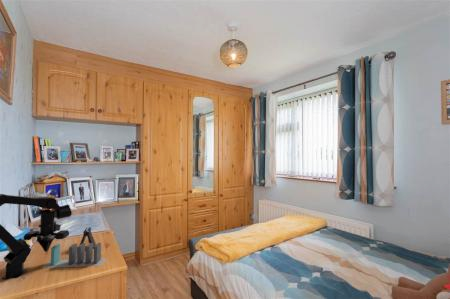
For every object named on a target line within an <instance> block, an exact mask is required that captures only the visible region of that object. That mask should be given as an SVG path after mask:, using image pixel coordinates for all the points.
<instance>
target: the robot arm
mask: <svg viewBox="0 0 450 299" xmlns="http://www.w3.org/2000/svg"><path fill="white" fill-rule="evenodd" d="M5 204H8V205H21V206H35V207H38V208H39V210H37V211H36V212H35V215H38V216H40V217H39V218H40V221H39V223H40V224H38V228H39V230H31V231H29V232H27V233H25V234H24V235H23V238H21V237H20V238H19V239H16V238H15V236H13V234H12V233H10V232H9V231H8V230H7V229H6V228H5V227H4V226H3V224H1V223H0V241H1V242H2V243H3V244H4V245H5V246H6V248H7V251H8V253H7V254H6V255H5V256H4V257H3V261H4V262H5V263H6V265H5V275H4V276H2V277H1V279H2V280H7V279H17V278H19V277H21V276H22V275H24V274H25V273H26V272H27V271H28V270H26V269H25V270H24V266H25V262H26V260H27V259H28V256H29V255H30V254H31V251H32V249H31V247H32V245H30V244H28V242H27V241H30V240H31V239H32V238H36V240H35V242H37V243H38V244H39V245H40V247H41V248H42V250H43V251H44V252H45V253H47V252H49V249H50V248H51V244H52V243H53V241H54V240H55V239H56V240H63V239H66V238H67V237H69V235H70V232H69V230H68V229H67V230H65V229H63V230H61V226H62V224H57V223H56V221H55V219H57V220H62V219H66V218H71V216H72V209H71V207H70V206H71V205H70V204H65V205H59V204H58V202H57V199H56V198H55V197H51V196H36V197H33V196H31V197H30V196H22V195H11V194H3V193H0V207H1V206H4V205H5ZM41 208H42V209H41Z"/></svg>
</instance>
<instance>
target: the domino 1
mask: <svg viewBox="0 0 450 299" xmlns="http://www.w3.org/2000/svg"><path fill="white" fill-rule="evenodd" d="M60 257H61V244H60V243H57V244H55V245H54V246H51V247H50V261H51V266H54V265H55V264H57V263H58V262H59V261H60V260H61V258H60Z"/></svg>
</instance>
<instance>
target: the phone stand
mask: <svg viewBox="0 0 450 299" xmlns="http://www.w3.org/2000/svg"><path fill="white" fill-rule="evenodd" d="M82 234H83V236H82V238H81V241H80V243H79V245H81V244H82V243H85V240H86V238H87V240H88V244H90V243H93V250H94V246H95V245H96V244H97V243H96V241H95V238H94V236H93V233H92V227H90V226H89V227H86V228H85V229H84V230H83V233H82ZM86 246H87V245H85V248H86Z"/></svg>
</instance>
